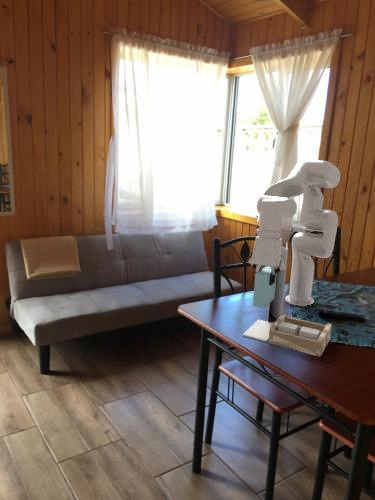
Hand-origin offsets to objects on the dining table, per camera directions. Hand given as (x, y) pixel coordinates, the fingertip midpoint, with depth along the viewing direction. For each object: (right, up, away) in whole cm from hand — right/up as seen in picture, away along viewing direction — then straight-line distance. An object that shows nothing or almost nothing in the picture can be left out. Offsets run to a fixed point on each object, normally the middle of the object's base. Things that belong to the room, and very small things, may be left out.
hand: (265, 282), depth 151 cm
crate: (+12, -21, -3) cm, 24 cm away
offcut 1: (+7, -21, -4) cm, 22 cm away
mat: (0, -18, +5) cm, 19 cm away
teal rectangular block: (0, -7, +2) cm, 7 cm away
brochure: (+7, -15, +19) cm, 25 cm away
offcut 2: (+13, -22, -7) cm, 27 cm away
